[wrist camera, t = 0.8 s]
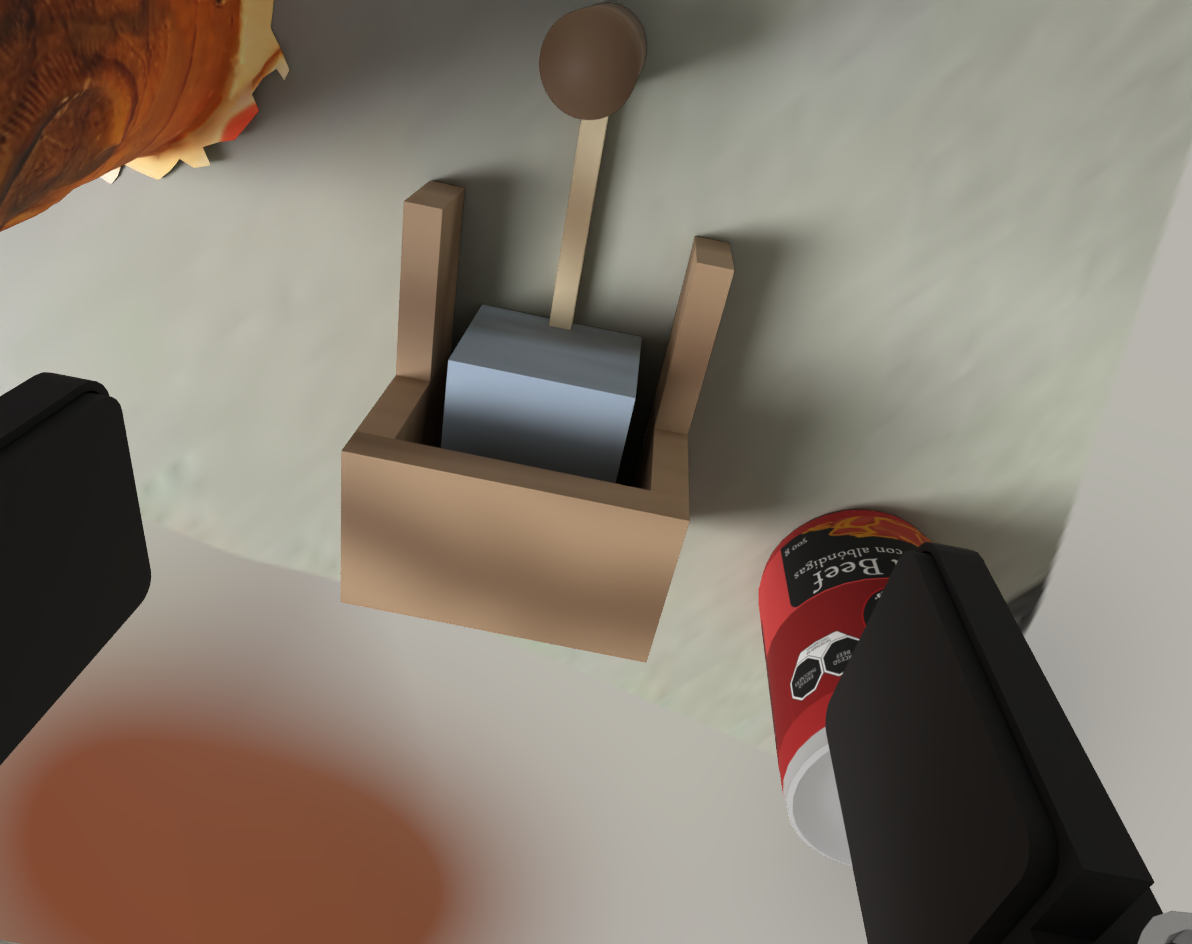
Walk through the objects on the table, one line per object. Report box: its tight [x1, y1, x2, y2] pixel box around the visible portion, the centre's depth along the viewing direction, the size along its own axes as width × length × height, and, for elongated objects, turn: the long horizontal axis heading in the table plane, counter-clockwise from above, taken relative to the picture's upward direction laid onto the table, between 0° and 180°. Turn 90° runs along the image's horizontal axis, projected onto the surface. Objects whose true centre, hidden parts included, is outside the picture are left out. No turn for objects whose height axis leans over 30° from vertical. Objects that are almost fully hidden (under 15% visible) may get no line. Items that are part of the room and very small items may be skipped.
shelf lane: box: [341, 181, 734, 662], centre depth 26 cm, size 12×10×8 cm
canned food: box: [759, 510, 931, 866], centre depth 29 cm, size 8×8×11 cm
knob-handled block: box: [441, 3, 647, 484], centre depth 25 cm, size 16×6×6 cm, turn 170°
